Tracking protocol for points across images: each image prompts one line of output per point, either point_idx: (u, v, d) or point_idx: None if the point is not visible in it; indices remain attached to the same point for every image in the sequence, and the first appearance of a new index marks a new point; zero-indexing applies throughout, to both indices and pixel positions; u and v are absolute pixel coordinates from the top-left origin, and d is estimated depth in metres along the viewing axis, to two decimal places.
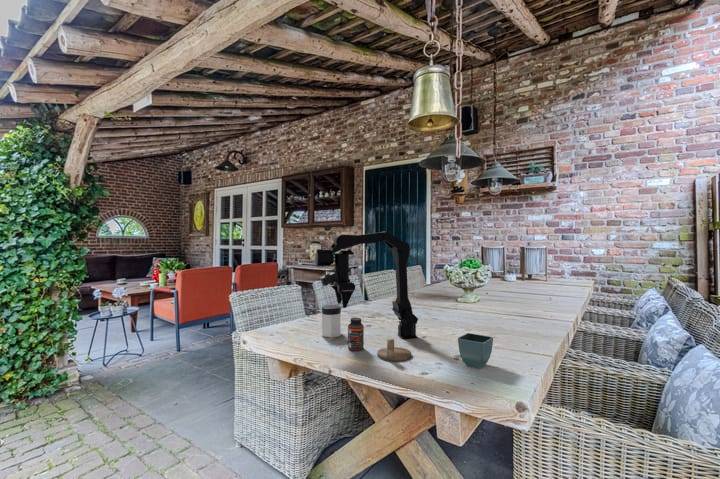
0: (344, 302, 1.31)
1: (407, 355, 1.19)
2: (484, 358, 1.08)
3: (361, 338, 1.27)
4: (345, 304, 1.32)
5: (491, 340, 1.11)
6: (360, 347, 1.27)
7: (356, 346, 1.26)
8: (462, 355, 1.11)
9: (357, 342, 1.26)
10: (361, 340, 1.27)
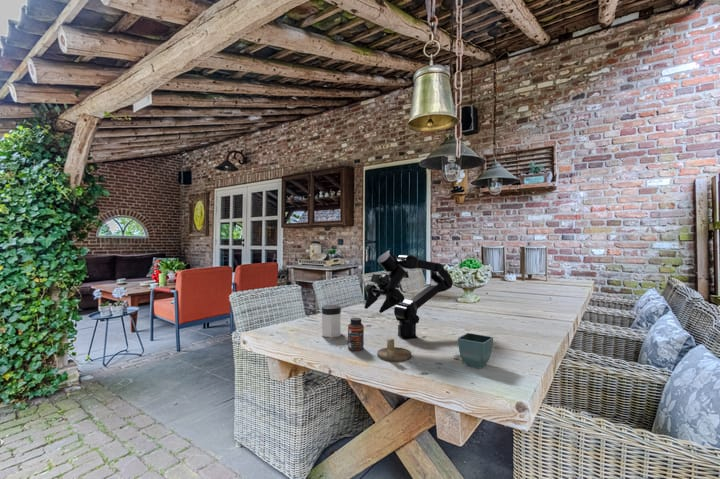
0: (384, 307, 1.30)
1: (407, 355, 1.19)
2: (484, 358, 1.08)
3: (361, 338, 1.27)
4: (383, 309, 1.30)
5: (491, 340, 1.11)
6: (360, 347, 1.27)
7: (356, 346, 1.26)
8: (462, 355, 1.11)
9: (357, 342, 1.26)
10: (361, 340, 1.27)
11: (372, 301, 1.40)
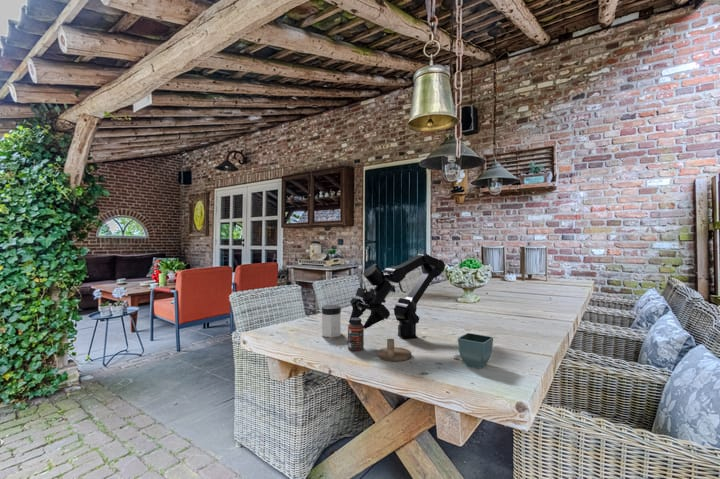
0: (368, 323, 1.26)
1: (407, 355, 1.19)
2: (484, 358, 1.08)
3: (361, 338, 1.27)
4: (367, 325, 1.26)
5: (491, 340, 1.11)
6: (360, 347, 1.27)
7: (356, 346, 1.26)
8: (462, 355, 1.11)
9: (357, 342, 1.26)
10: (361, 340, 1.27)
11: (357, 316, 1.35)
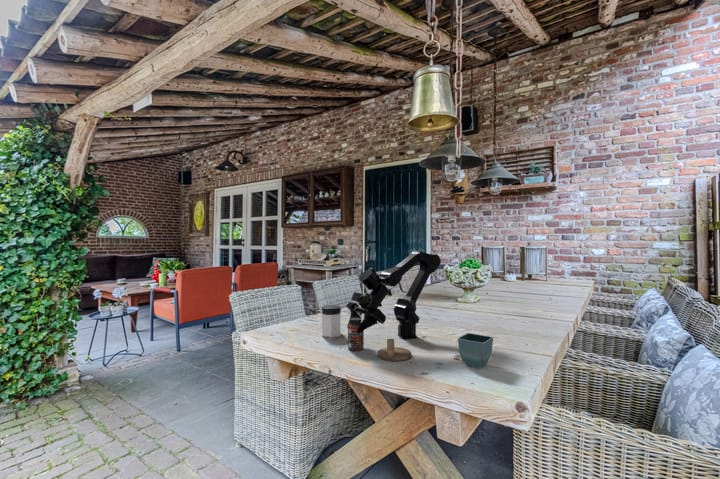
0: (362, 327, 1.26)
1: (407, 355, 1.19)
2: (484, 358, 1.08)
3: (361, 338, 1.27)
4: (361, 329, 1.26)
5: (491, 340, 1.11)
6: (360, 347, 1.27)
7: (356, 346, 1.26)
8: (462, 355, 1.11)
9: (357, 342, 1.26)
10: (361, 340, 1.27)
11: None
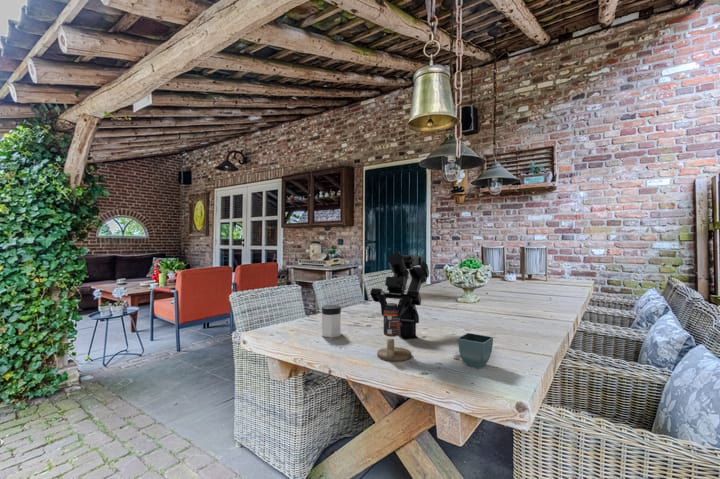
0: (402, 311, 1.25)
1: (407, 355, 1.19)
2: (484, 358, 1.08)
3: (399, 323, 1.26)
4: (401, 313, 1.24)
5: (491, 340, 1.11)
6: (399, 332, 1.25)
7: (396, 331, 1.24)
8: (462, 355, 1.11)
9: (397, 327, 1.24)
10: (399, 325, 1.26)
11: (385, 306, 1.30)
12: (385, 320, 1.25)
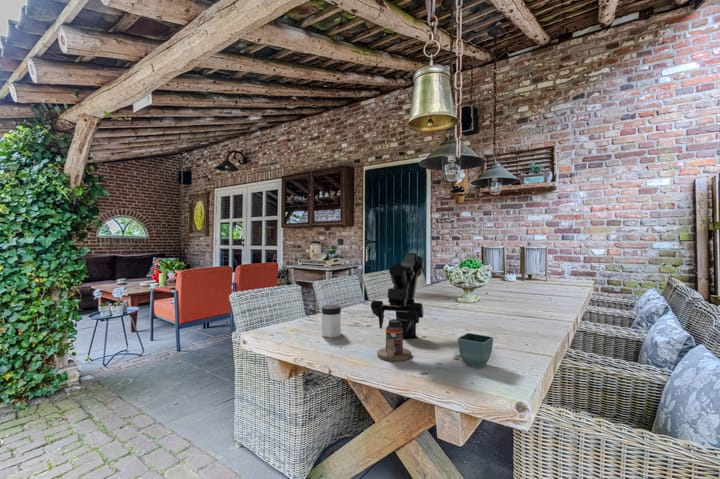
0: (409, 324, 1.20)
1: (407, 355, 1.19)
2: (484, 358, 1.08)
3: (402, 340, 1.21)
4: (408, 327, 1.20)
5: (491, 340, 1.11)
6: (402, 350, 1.21)
7: (400, 349, 1.20)
8: (462, 355, 1.11)
9: (401, 345, 1.20)
10: (402, 342, 1.21)
11: (382, 319, 1.25)
12: (388, 337, 1.20)
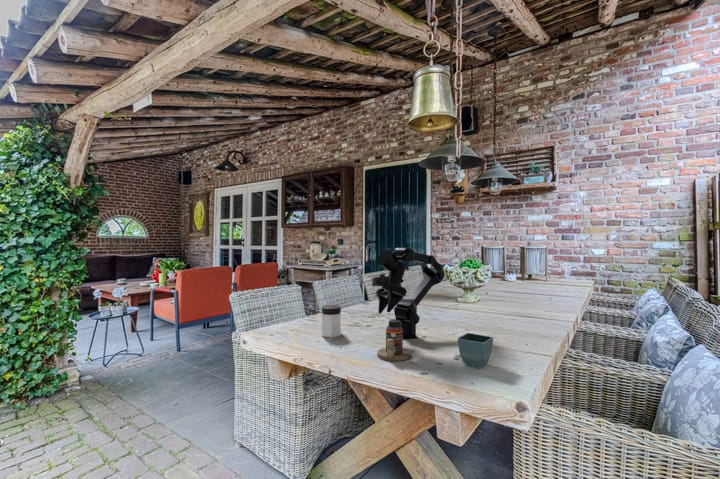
0: (390, 306, 1.30)
1: (407, 355, 1.19)
2: (484, 358, 1.08)
3: (402, 340, 1.21)
4: (390, 308, 1.30)
5: (491, 340, 1.11)
6: (402, 350, 1.21)
7: (400, 349, 1.20)
8: (462, 355, 1.11)
9: (401, 345, 1.20)
10: (402, 342, 1.21)
11: (385, 304, 1.40)
12: (388, 337, 1.20)
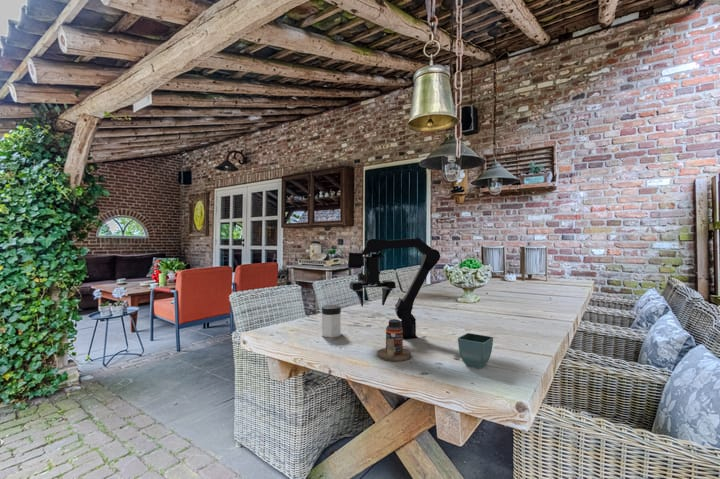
0: (360, 301, 1.43)
1: (407, 355, 1.19)
2: (484, 358, 1.08)
3: (402, 340, 1.21)
4: None
5: (491, 340, 1.11)
6: (402, 350, 1.21)
7: (400, 349, 1.20)
8: (462, 355, 1.11)
9: (401, 345, 1.20)
10: (402, 342, 1.21)
11: (384, 295, 1.45)
12: (388, 337, 1.20)
